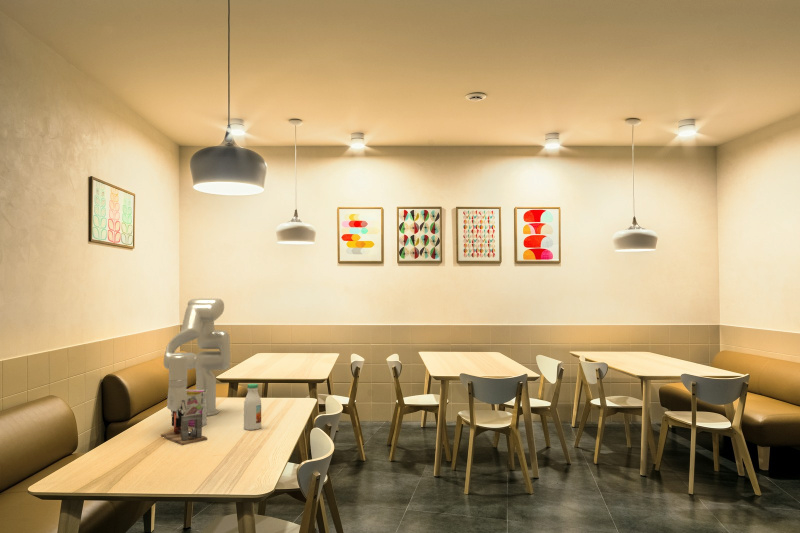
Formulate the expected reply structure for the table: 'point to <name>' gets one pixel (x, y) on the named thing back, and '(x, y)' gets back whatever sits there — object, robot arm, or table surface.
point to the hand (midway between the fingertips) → (177, 425)
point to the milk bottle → (252, 408)
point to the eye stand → (183, 436)
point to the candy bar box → (197, 405)
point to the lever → (178, 430)
